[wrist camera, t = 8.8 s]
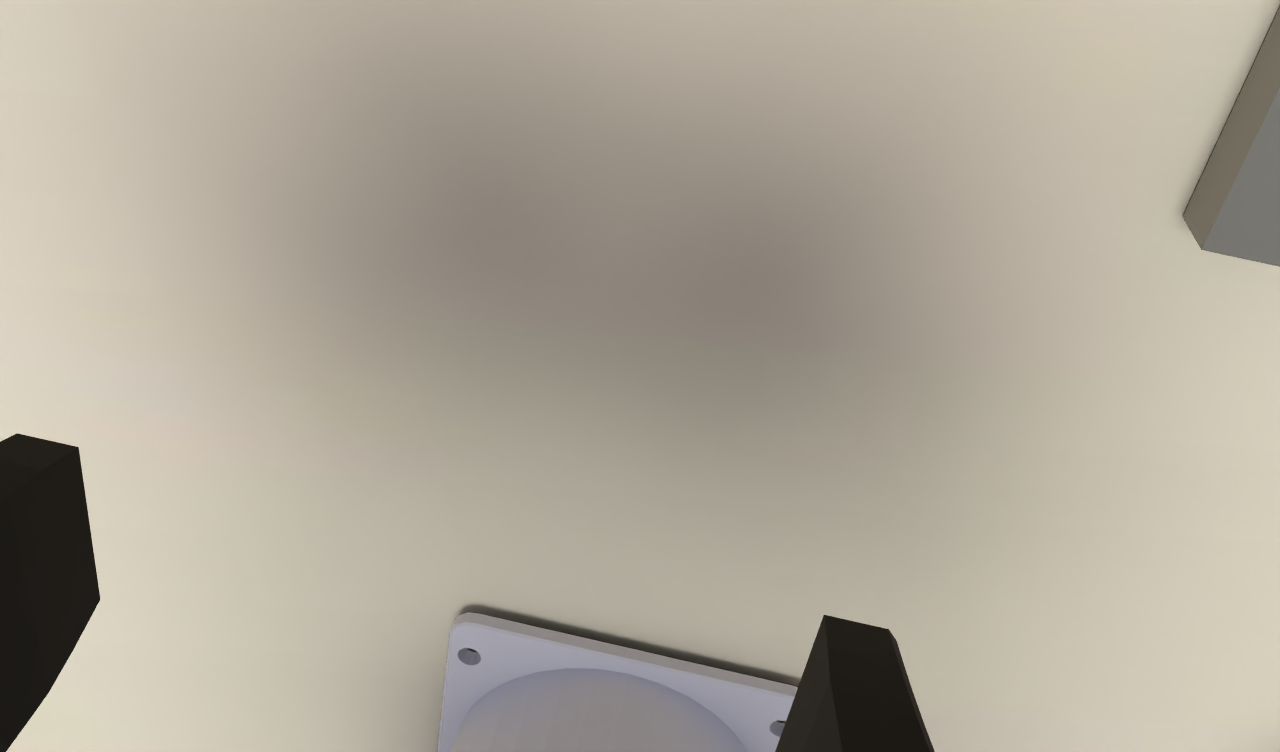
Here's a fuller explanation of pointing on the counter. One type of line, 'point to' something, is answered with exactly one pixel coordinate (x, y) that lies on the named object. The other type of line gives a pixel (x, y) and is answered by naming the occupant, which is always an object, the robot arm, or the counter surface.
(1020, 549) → the counter surface
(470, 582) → the counter surface
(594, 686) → the robot arm
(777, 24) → the counter surface
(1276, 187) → the slate base
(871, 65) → the counter surface
